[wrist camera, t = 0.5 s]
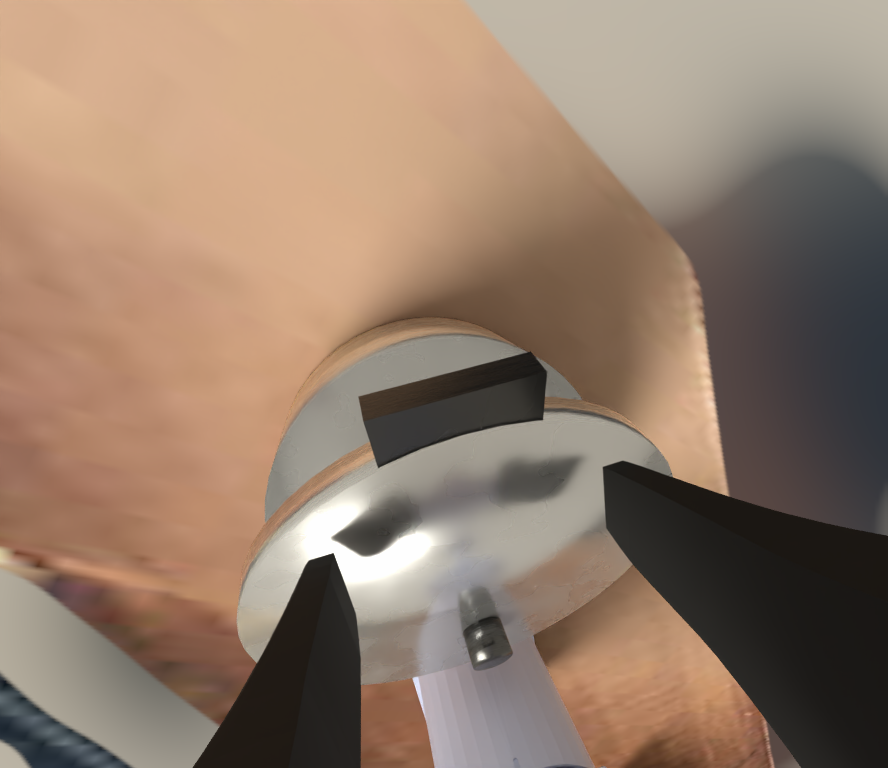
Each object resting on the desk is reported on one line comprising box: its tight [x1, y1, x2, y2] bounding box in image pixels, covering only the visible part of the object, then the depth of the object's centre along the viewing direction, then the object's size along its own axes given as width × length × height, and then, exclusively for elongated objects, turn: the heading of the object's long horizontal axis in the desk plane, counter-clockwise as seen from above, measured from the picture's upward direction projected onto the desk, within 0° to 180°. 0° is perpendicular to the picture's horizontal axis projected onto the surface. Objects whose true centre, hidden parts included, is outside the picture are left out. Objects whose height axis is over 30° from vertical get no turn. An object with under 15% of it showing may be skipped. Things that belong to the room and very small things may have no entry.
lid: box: [237, 352, 673, 685], centre depth 13 cm, size 16×15×2 cm
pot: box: [265, 317, 582, 523], centre depth 19 cm, size 15×14×4 cm
